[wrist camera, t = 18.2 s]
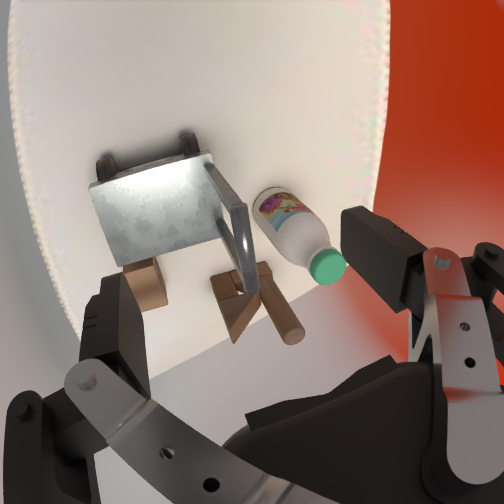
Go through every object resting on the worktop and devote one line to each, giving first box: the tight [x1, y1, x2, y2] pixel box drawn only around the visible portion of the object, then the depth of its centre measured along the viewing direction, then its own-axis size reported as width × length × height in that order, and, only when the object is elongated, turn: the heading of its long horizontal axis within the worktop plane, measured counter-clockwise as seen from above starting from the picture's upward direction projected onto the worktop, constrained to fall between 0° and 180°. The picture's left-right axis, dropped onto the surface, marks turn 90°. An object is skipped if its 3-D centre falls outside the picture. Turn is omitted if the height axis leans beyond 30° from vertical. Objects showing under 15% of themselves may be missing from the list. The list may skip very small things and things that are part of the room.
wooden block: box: [210, 262, 305, 345], centre depth 52 cm, size 4×11×18 cm, turn 98°
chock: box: [123, 256, 168, 312], centre depth 51 cm, size 8×5×6 cm, turn 9°
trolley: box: [88, 133, 260, 294], centre depth 37 cm, size 16×16×23 cm
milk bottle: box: [253, 188, 346, 285], centre depth 46 cm, size 8×8×20 cm
